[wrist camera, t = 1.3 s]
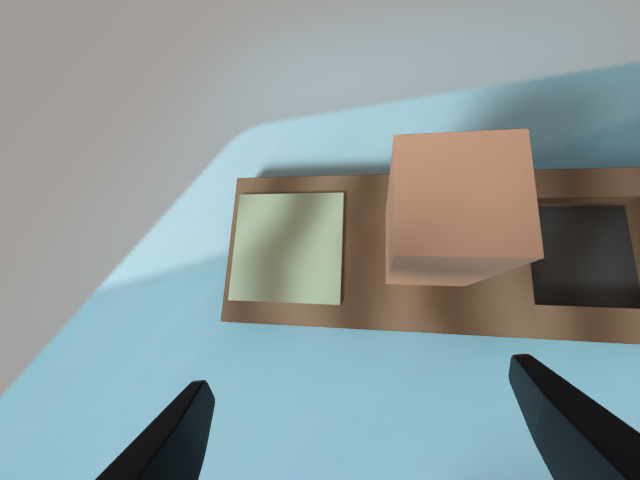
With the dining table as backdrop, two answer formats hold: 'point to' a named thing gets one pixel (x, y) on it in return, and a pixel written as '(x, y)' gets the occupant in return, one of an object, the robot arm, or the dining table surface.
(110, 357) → the dining table surface
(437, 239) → the block
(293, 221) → the board
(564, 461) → the robot arm
